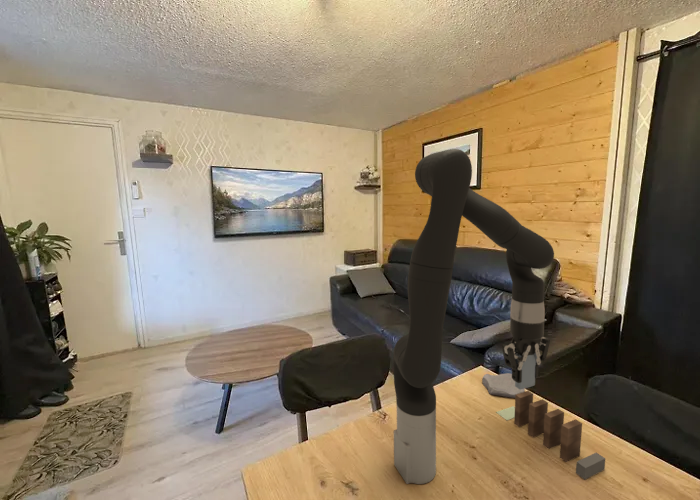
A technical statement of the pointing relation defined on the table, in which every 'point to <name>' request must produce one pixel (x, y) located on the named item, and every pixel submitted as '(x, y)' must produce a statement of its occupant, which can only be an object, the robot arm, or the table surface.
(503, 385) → the stone block
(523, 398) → the domino
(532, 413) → the domino
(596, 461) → the block
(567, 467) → the table surface
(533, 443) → the table surface
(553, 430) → the domino
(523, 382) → the domino
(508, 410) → the pad
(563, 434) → the domino
